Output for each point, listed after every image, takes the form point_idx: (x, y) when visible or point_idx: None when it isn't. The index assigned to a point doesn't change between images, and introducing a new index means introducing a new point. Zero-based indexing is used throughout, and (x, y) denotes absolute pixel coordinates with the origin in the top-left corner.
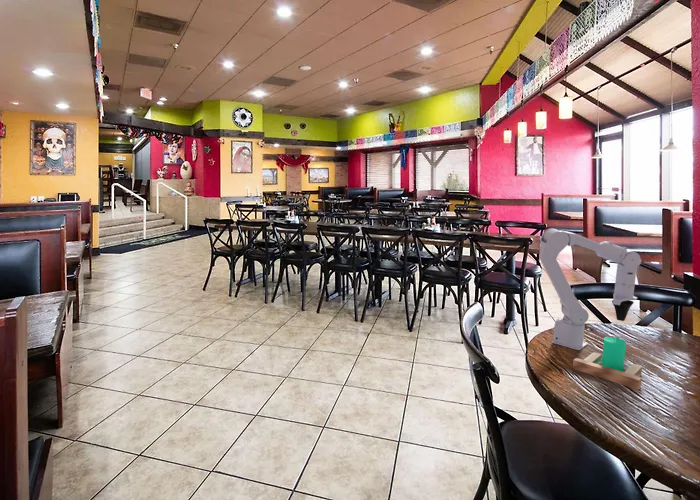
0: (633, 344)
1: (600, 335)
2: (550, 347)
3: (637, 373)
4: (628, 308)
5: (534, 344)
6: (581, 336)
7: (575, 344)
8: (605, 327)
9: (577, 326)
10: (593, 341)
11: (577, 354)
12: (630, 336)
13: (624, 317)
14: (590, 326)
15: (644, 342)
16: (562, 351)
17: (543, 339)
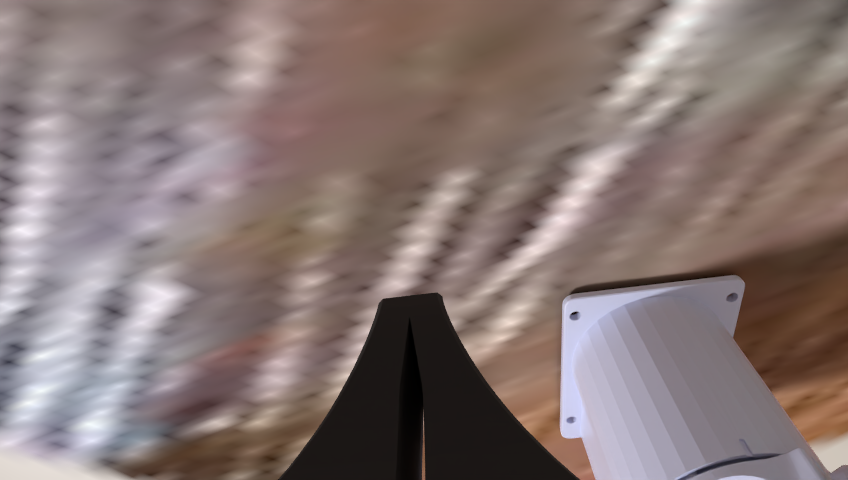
0: (184, 90)
1: (253, 330)
2: (794, 385)
3: None
4: (428, 454)
5: None
6: (720, 360)
7: (723, 326)
8: (32, 385)
9: (816, 459)
10: None
11: (818, 246)
12: (2, 196)
13: (450, 327)
14: (137, 438)
15: (8, 47)
16: (822, 321)
17: None
